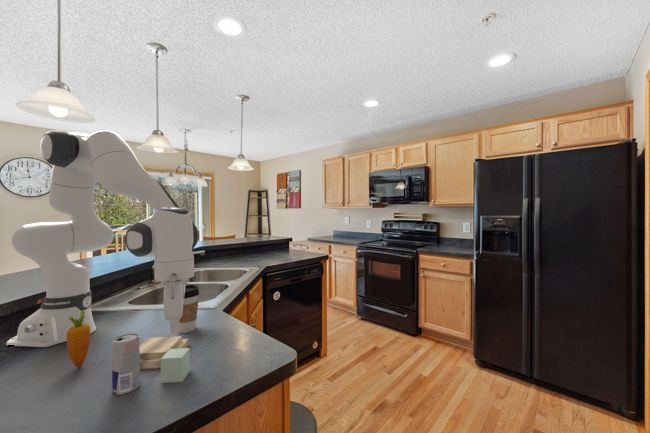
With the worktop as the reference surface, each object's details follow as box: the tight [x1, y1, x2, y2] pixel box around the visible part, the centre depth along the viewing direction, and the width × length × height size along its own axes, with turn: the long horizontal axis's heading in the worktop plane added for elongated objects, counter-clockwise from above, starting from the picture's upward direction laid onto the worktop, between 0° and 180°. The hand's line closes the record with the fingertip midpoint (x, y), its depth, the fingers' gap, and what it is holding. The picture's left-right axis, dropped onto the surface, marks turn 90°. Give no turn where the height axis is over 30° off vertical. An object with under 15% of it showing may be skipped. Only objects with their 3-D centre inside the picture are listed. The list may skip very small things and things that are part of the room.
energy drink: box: [111, 333, 141, 396], centre depth 66 cm, size 5×5×12 cm
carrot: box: [66, 311, 91, 369], centre depth 75 cm, size 5×5×15 cm
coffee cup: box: [178, 284, 200, 334], centre depth 100 cm, size 8×8×15 cm
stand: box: [139, 335, 190, 370], centre depth 81 cm, size 13×13×4 cm
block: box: [160, 347, 191, 384], centre depth 71 cm, size 5×5×6 cm
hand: (175, 325), depth 71 cm, fingers open, 8 cm apart
